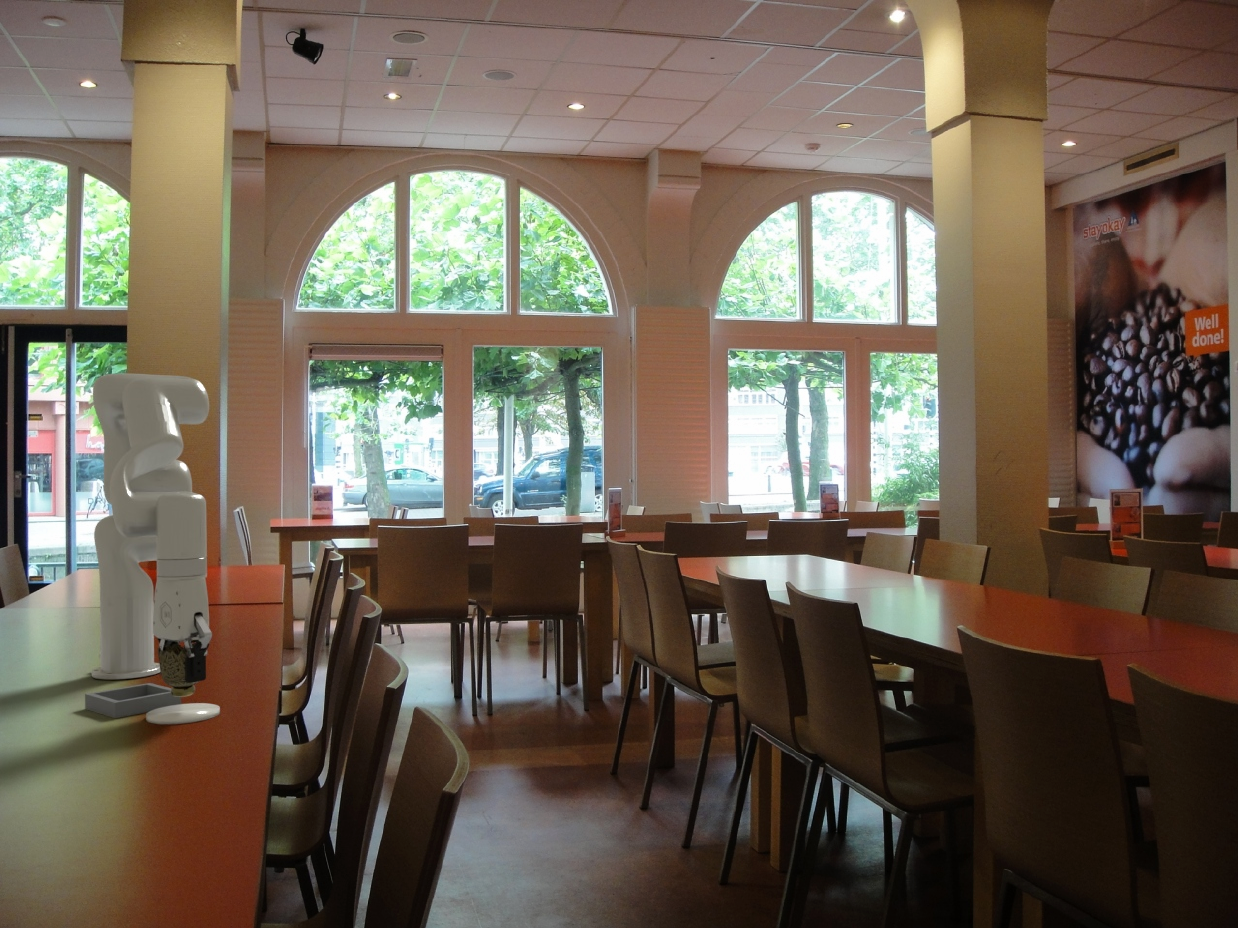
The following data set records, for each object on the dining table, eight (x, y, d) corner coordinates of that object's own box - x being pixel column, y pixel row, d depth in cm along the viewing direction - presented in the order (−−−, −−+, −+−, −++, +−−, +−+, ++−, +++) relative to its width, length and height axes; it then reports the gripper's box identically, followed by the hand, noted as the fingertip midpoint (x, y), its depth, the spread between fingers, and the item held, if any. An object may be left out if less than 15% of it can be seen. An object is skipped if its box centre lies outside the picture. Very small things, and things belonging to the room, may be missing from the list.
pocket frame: (85, 708, 171) (85, 693, 171) (149, 697, 179) (149, 682, 179) (115, 718, 164) (115, 702, 164) (181, 705, 173) (180, 690, 173)
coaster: (133, 717, 164) (133, 712, 164) (198, 704, 173) (198, 700, 173) (167, 727, 157) (167, 722, 157) (232, 714, 166) (232, 709, 166)
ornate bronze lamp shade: (189, 701, 161) (188, 650, 161) (147, 699, 162) (147, 649, 162) (216, 691, 168) (216, 642, 168) (177, 689, 170) (176, 641, 170)
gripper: (133, 568, 168) (134, 675, 168) (186, 574, 157) (188, 689, 157) (177, 565, 174) (178, 668, 174) (231, 570, 163) (233, 680, 163)
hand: (183, 677), depth 165 cm, fingers closed on ornate bronze lamp shade, 7 cm apart
